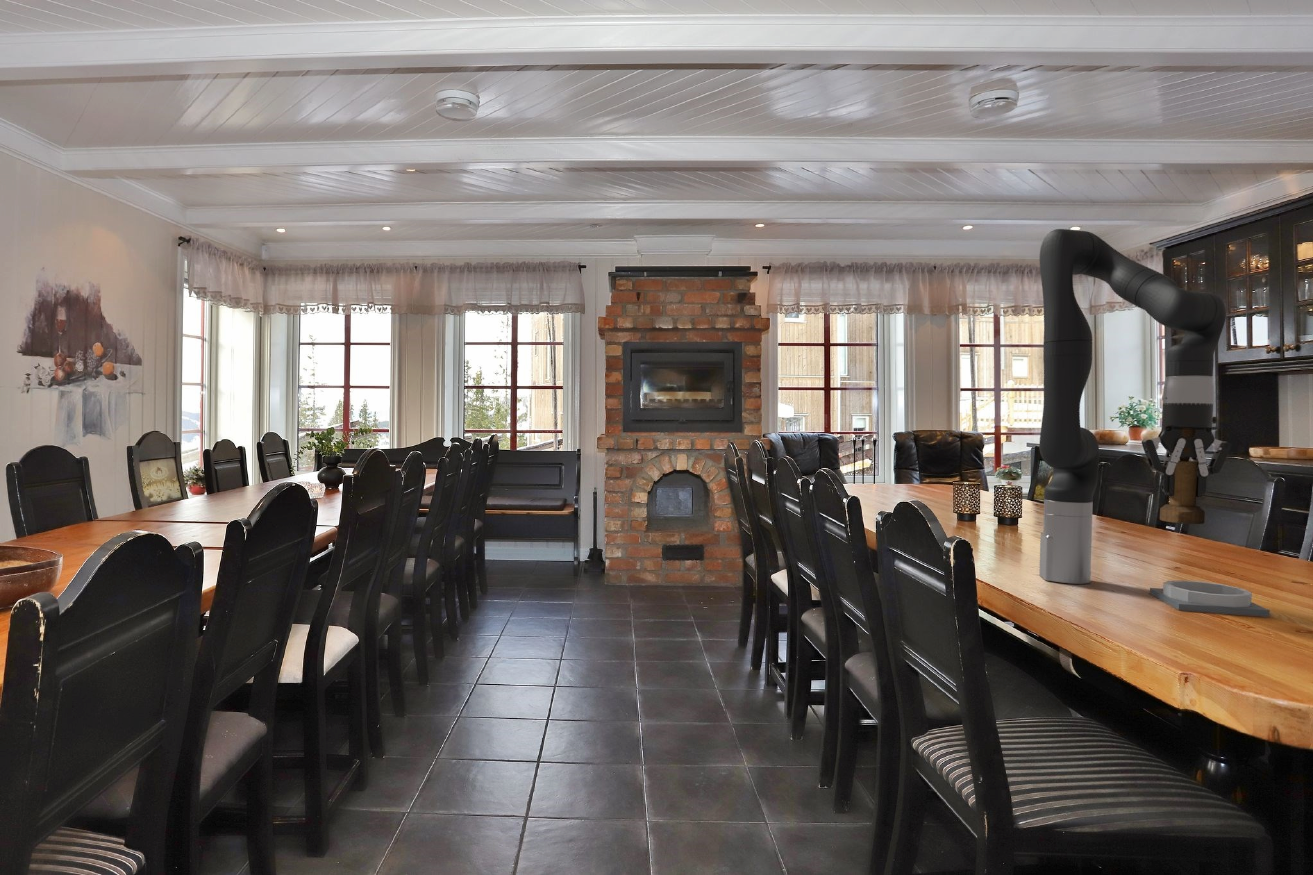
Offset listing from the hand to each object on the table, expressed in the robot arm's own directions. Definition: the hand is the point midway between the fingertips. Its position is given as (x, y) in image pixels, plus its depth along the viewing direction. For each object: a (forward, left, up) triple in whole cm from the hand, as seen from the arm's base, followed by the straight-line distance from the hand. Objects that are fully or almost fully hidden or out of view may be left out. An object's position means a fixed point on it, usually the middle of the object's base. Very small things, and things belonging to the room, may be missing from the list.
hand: (1183, 495), depth 136 cm
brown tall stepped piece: (0, 0, -5) cm, 5 cm away
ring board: (+7, +6, -21) cm, 23 cm away
